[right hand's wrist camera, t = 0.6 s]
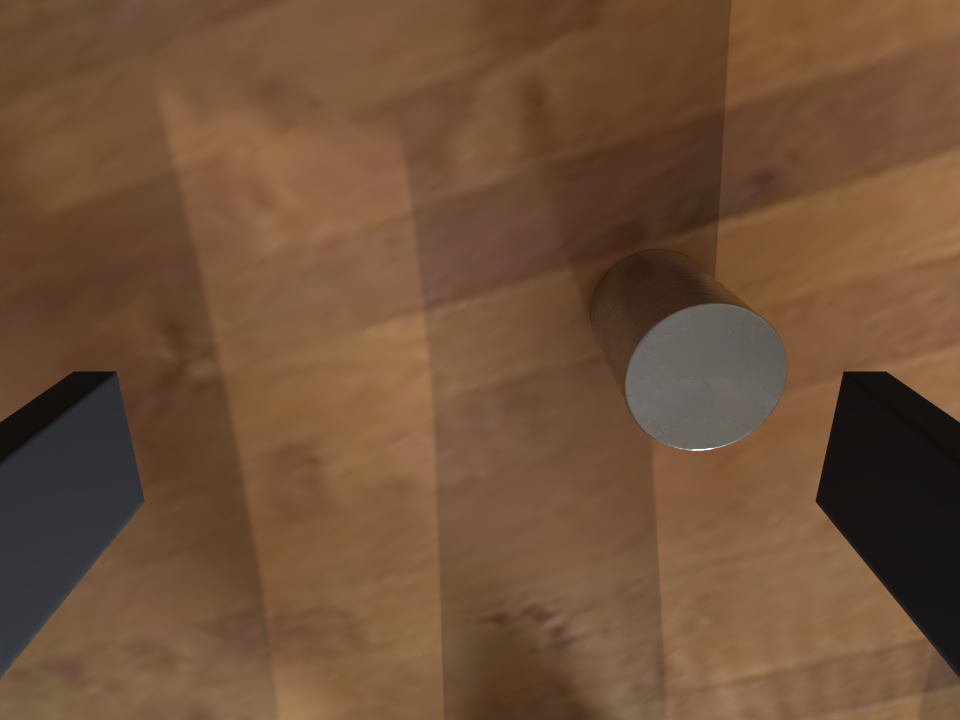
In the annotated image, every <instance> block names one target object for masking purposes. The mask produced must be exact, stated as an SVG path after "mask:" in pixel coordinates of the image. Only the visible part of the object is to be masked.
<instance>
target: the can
mask: <svg viewBox="0 0 960 720" xmlns="http://www.w3.org/2000/svg"><path fill="white" fill-rule="evenodd" d="M591 323H592V328H593V331H594V334H595V337H596V339H597V341H598V343H599V345H600V347H601V350H602V352H603V354H604V356H605V358H606V361H607V363H608V365H609V367H610V369H611V371H612V374H613V376H614V378H615V380H616V382H617V385H618V387H619V389H620V391H621V393H622V396H623V398H624V400H625V402H626V404H627V406H628V409H629V411H630V413H631V415H632V416H633V418H634V420H635V421H636V423H637V424H638V425H639V427H640V428H641V429H642V430H643V431H645V432H646V433H647V434H648V435H649V436H651V437H652V438H653V439H655V440H657V441H659V442H661V443H663V444H665V445H668V446H671V447H674V448H678V449H684V450H709V449H714V448H719V447H723V446H725V445H728V444H731V443H733V442H735V441H738V440H740V439H742V438H743V437H745V436H746V435H748V434H750V433H751V432H752V431H754V430H755V429H756V428H757V427H759V426H760V425H761V424H762V423H763V422H764V421H765V420H766V419H767V417H768V416H769V415H770V414H771V412H772V411H773V409H774V408H775V406H776V405H777V403H778V401H779V399H780V397H781V395H782V392H783V389H784V386H785V381H786V376H787V361H786V354H785V350H784V346H783V344H782V342H781V340H780V337H779V336H778V334H777V333H776V331H775V330H774V328H773V327H772V326H771V325H770V324H769V323H768V322H767V321H766V320H765V319H763V318H762V317H761V316H760V315H759V314H757V313H756V312H755V311H754V310H753V309H751V308H750V307H749V306H748V305H746V304H745V303H744V302H743V301H742V300H740V299H739V298H738V297H737V296H736V295H734V294H733V293H732V292H731V291H729V290H728V289H727V288H726V287H725V286H723V285H722V284H721V283H720V282H719V281H717V280H716V279H715V278H714V277H712V276H711V275H710V274H709V273H708V272H706V271H705V270H704V269H703V268H702V267H700V266H699V265H698V264H697V263H695V262H694V261H693V260H691V259H690V258H688V257H687V256H684V255H682V254H680V253H677V252H673V251H668V250H649V251H644V252H640V253H637V254H634V255H631V256H629V257H627V258H625V259H624V260H622V261H620V262H619V263H618V264H616V265H615V266H614V267H613V268H612V269H611V270H609V271H608V273H607V274H606V275H605V276H604V277H603V279H602V280H601V282H600V283H599V285H598V287H597V289H596V291H595V294H594V297H593V300H592V305H591Z"/></svg>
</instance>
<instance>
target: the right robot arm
mask: <svg viewBox="0 0 960 720" xmlns="http://www.w3.org/2000/svg"><path fill="white" fill-rule="evenodd" d="M144 502H145V501H144V497H143V492H142V488H141V483H140V478H139V474H138V469H137V465H136V460H135V455H134V451H133V446H132V442H131V437H130V432H129V428H128V423H127V419H126V414H125V409H124V405H123V400H122V396H121V391H120V386H119V382H118V377H117V373H116V372H72V373H71V374H70V375H68V376H67V377H65V378H64V379H62V380H61V381H60V382H58V383H57V384H55V385H54V386H52V387H51V388H49V389H48V390H47V391H45V392H44V393H42V394H41V395H39V396H38V397H36V398H35V399H34V400H32V401H31V402H29V403H28V404H26V405H25V406H23V407H22V408H21V409H19V410H18V411H16V412H15V413H13V414H12V415H10V416H9V417H8V418H6V419H5V420H3V421H2V422H0V678H1V677H2V676H3V675H4V673H5V672H6V671H7V670H8V668H9V667H10V666H11V665H12V663H13V662H14V661H15V660H16V659H17V657H18V656H19V655H20V654H21V652H22V651H23V650H24V649H25V648H26V646H27V645H28V644H29V643H30V641H31V640H32V639H33V638H34V636H35V635H36V634H37V633H38V632H39V630H40V629H41V628H42V627H43V625H44V624H45V623H46V622H47V621H48V619H49V618H50V617H51V616H52V614H53V613H54V612H55V611H56V609H57V608H58V607H59V606H60V605H61V603H62V602H63V601H64V600H65V598H66V597H67V596H68V595H69V594H70V592H71V591H72V590H73V589H74V587H75V586H76V585H77V584H78V583H79V581H80V580H81V579H82V578H83V576H84V575H85V574H86V573H87V571H88V570H89V569H90V568H91V567H92V565H93V564H94V563H95V562H96V560H97V559H98V558H99V557H100V556H101V554H102V553H103V552H104V551H105V549H106V548H107V547H108V546H109V544H110V543H111V542H112V541H113V540H114V538H115V537H116V536H117V535H118V533H119V532H120V531H121V530H122V529H123V527H124V526H125V525H126V524H127V522H128V521H129V520H130V519H131V517H132V516H133V515H134V514H135V513H136V511H137V510H138V509H139V508H140V506H141V505H142V504H143V503H144ZM815 502H816V503H817V504H818V505H819V506H820V508H821V509H822V510H823V511H824V513H825V514H826V515H827V516H828V517H829V519H830V520H831V521H832V522H833V524H834V525H835V526H836V527H837V529H838V530H839V531H840V532H841V533H842V535H843V536H844V537H845V538H846V540H847V541H848V542H849V543H850V544H851V546H852V547H853V548H854V549H855V551H856V552H857V553H858V554H859V556H860V557H861V558H862V559H863V560H864V562H865V563H866V564H867V565H868V567H869V568H870V569H871V570H872V571H873V573H874V574H875V575H876V576H877V578H878V579H879V580H880V581H881V583H882V584H883V585H884V586H885V587H886V589H887V590H888V591H889V592H890V594H891V595H892V596H893V597H894V598H895V600H896V601H897V602H898V603H899V605H900V606H901V607H902V608H903V609H904V611H905V612H906V613H907V614H908V616H909V617H910V618H911V619H912V621H913V622H914V623H915V624H916V625H917V627H918V628H919V629H920V630H921V632H922V633H923V634H924V635H925V636H926V638H927V639H928V640H929V641H930V643H931V644H932V645H933V646H934V648H935V649H936V650H937V651H938V652H939V654H940V655H941V656H942V657H943V659H944V660H945V661H946V662H947V663H948V665H949V666H950V667H951V668H952V670H953V671H954V672H955V673H956V675H957V676H958V677H959V678H960V422H958V421H957V420H955V419H954V418H952V417H951V416H950V415H948V414H947V413H945V412H944V411H942V410H941V409H939V408H938V407H937V406H935V405H934V404H932V403H931V402H929V401H928V400H926V399H925V398H924V397H922V396H921V395H919V394H918V393H916V392H915V391H913V390H912V389H911V388H909V387H908V386H906V385H905V384H903V383H902V382H900V381H899V380H898V379H896V378H895V377H893V376H892V375H890V374H889V373H888V372H844V373H843V377H842V382H841V386H840V391H839V396H838V400H837V405H836V409H835V414H834V419H833V423H832V428H831V432H830V437H829V442H828V446H827V451H826V455H825V460H824V465H823V469H822V474H821V478H820V483H819V488H818V492H817V497H816V501H815Z"/></svg>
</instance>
